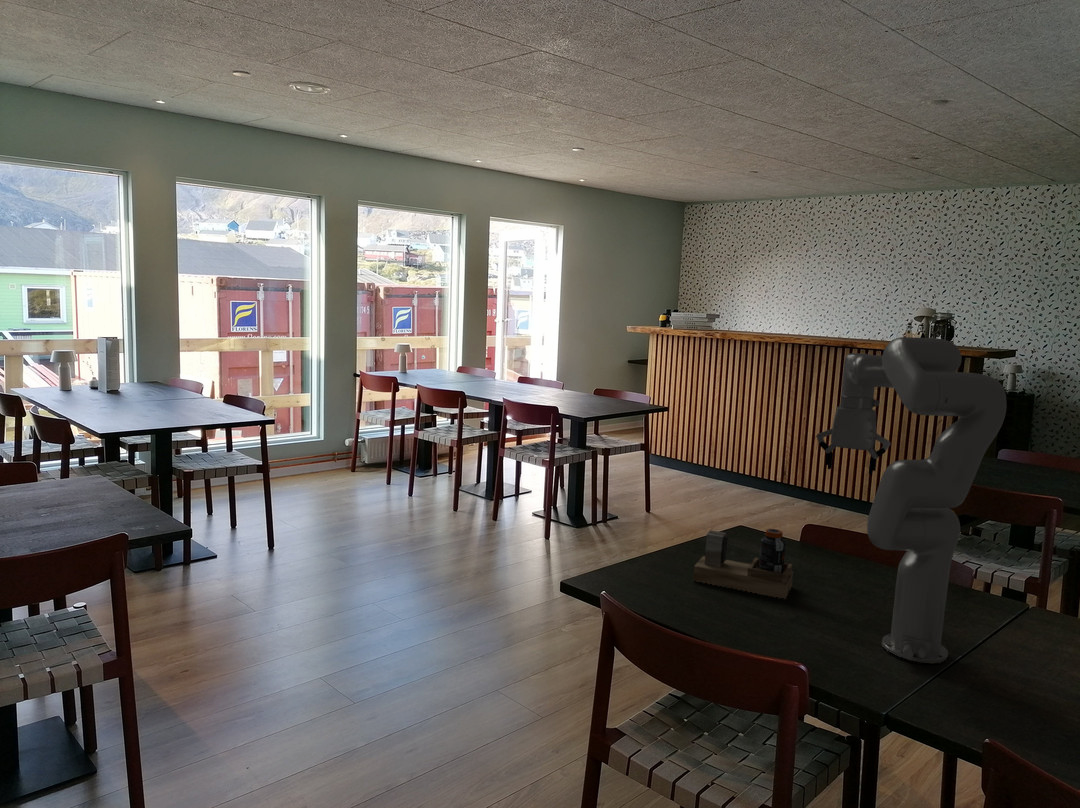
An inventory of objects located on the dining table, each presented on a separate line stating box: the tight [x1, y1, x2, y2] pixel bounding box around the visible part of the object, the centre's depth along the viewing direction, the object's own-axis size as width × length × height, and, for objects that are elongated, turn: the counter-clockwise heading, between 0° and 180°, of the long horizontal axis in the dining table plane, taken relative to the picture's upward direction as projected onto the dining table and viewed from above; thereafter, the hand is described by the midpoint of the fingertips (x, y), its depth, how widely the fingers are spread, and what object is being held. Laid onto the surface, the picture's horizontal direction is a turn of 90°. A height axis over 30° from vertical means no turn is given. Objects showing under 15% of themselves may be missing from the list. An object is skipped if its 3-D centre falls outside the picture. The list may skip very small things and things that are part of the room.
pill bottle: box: [759, 528, 786, 574], centre depth 195 cm, size 6×6×11 cm
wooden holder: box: [692, 529, 794, 600], centre depth 199 cm, size 10×23×12 cm, turn 64°
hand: (849, 470), depth 196 cm, fingers open, 9 cm apart
